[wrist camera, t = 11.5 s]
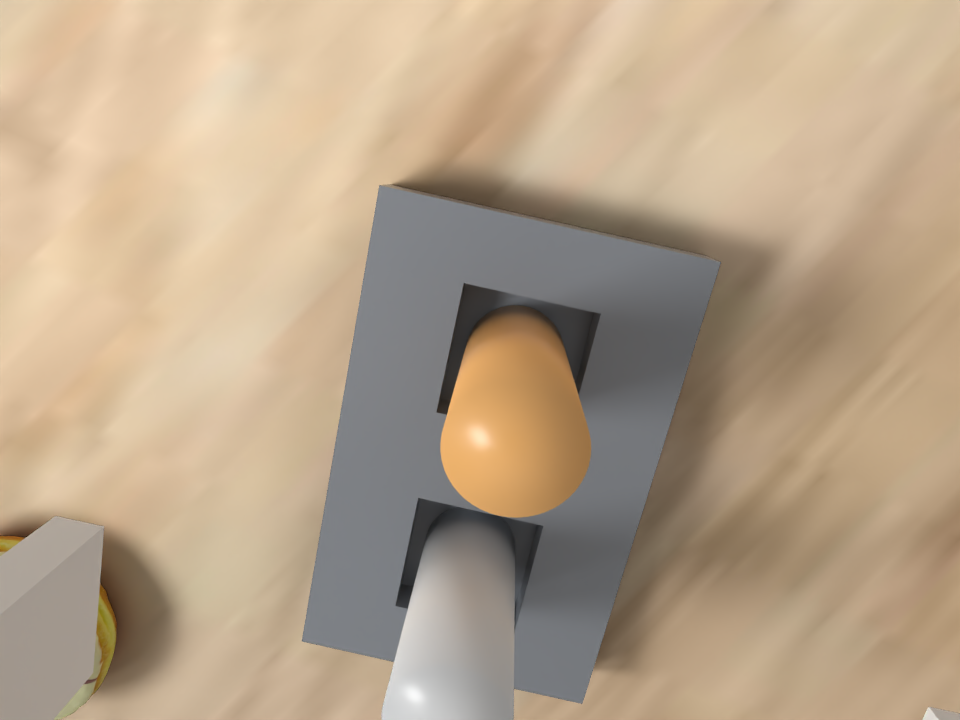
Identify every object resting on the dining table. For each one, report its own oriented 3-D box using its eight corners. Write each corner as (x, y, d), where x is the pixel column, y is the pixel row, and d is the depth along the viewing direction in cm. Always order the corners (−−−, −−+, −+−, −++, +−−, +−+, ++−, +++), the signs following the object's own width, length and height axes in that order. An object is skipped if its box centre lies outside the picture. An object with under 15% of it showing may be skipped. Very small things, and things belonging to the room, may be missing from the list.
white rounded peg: (418, 574, 34) (371, 759, 23) (435, 496, 32) (394, 652, 22) (504, 594, 34) (497, 787, 23) (524, 516, 32) (527, 682, 22)
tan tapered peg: (456, 388, 31) (427, 499, 20) (477, 295, 30) (457, 362, 19) (550, 409, 31) (569, 531, 20) (574, 317, 30) (608, 396, 19)
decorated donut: (-102, 562, 36) (-171, 605, 32) (61, 491, 34) (6, 528, 31) (8, 713, 38) (-46, 769, 35) (165, 653, 37) (126, 705, 33)
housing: (578, 669, 35) (582, 703, 33) (316, 610, 35) (301, 641, 33) (705, 255, 29) (720, 262, 27) (390, 184, 29) (379, 185, 27)
